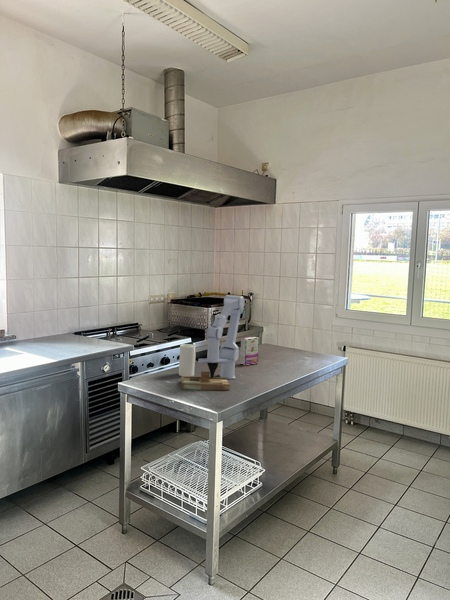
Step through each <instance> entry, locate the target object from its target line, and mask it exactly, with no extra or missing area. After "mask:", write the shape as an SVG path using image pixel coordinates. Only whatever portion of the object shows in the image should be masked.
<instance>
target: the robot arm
mask: <svg viewBox="0 0 450 600" xmlns="http://www.w3.org/2000/svg"><path fill="white" fill-rule="evenodd" d="M245 302H246V301H245V298H244V296H242V295H230V294H226V295H225V296H224V298H223V307H222V310H221V312H220V315H217V316H216V318H215V319H214V321H213V322H212V324H211V325H210V326H208V327H207V330H206V333H205V334H206V340H207V354H206V355H207V356H206V358H205V357H204V358H198V360H197V363H198V364H207V366H208V369H209V377H211V378H213V377H215V372H216V370H217V368H218V366H219V364H221V365H220V367H221V369H220V372H218V373H219V377H227V380H228V379H230V380H235V379H237V378H236V376H235V370H236V369H235V368H236V362H237V361H238V359H239V357H240V347H239V346H238V345H237V344H236V340H237V335H238V330H239V324H240V318H241V314H243V312H244V308H245ZM229 315H230V318H229V324H228V329H227V334H226V340H225V342H223V343H221V345H220V340H221V338H222V336H223V333H224V328H225V326H226V324H227V322H228V321H227V318H228V317H229Z"/></svg>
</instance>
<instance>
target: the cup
mask: <svg viewBox="0 0 450 600" xmlns="http://www.w3.org/2000/svg"><path fill="white" fill-rule="evenodd" d="M195 360H196V345H195V344H191V343H183V344H182V343H181V344H180V345H179V361H178V375H179V376H180V377H182V376H192V377H195V365H196V364H195V363H196V361H195Z"/></svg>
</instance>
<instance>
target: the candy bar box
mask: <svg viewBox="0 0 450 600" xmlns="http://www.w3.org/2000/svg"><path fill="white" fill-rule="evenodd" d="M259 345H260V337H256V336H250V337H249V336H248V337H241V338H240V351H239V357H240V359H239V364H240V363H241V364H245V365H246V364H251V363H256V362H258V363H259V348H260V347H259Z"/></svg>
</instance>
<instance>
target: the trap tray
mask: <svg viewBox="0 0 450 600" xmlns="http://www.w3.org/2000/svg"><path fill="white" fill-rule="evenodd" d="M180 383H181V384H180V385H181V390H198V391H200V390H202V391H203V390H204V391H205V390H206V391H208V390H210V391H230V389H231V384H230V383H229V381H228V379H227V377H220V376H213V378H211V377H210V376H209V381H201V376H181V381H180Z"/></svg>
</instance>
